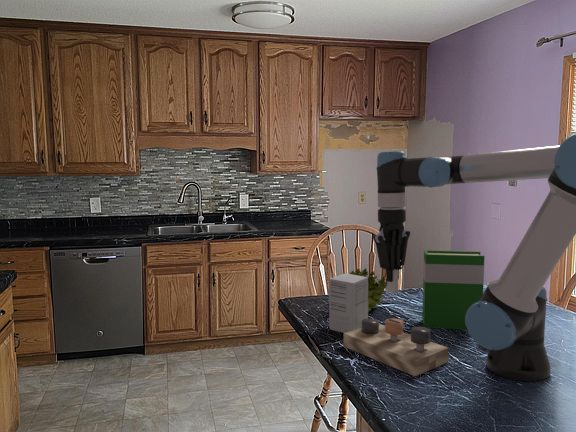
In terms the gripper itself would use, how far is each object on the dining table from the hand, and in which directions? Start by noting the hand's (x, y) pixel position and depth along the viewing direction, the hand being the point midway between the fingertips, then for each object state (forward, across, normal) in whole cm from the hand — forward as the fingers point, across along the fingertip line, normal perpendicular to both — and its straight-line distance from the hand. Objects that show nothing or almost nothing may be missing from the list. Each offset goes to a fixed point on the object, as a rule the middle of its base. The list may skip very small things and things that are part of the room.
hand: (392, 292), depth 142 cm
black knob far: (+17, 0, -9) cm, 19 cm away
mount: (+18, 0, 0) cm, 18 cm away
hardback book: (+18, -33, -4) cm, 38 cm away
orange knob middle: (+15, 0, 0) cm, 15 cm away
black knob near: (+15, 0, +9) cm, 18 cm away
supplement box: (+17, -5, -23) cm, 29 cm away
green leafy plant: (+17, -25, -34) cm, 45 cm away
